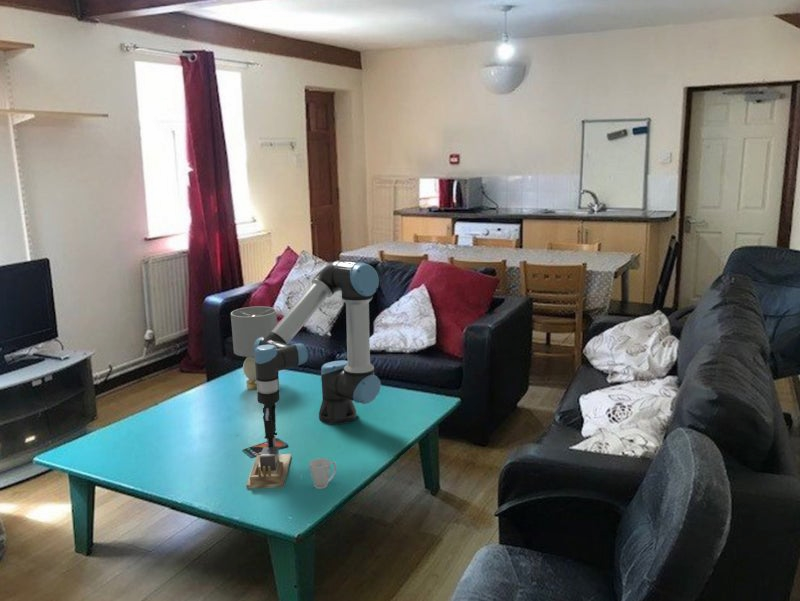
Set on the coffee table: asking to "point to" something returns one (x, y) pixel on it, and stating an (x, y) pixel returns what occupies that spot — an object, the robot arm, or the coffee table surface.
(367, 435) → the coffee table surface
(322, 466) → the cup
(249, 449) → the smartphone
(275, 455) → the plug
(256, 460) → the board
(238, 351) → the lamp
